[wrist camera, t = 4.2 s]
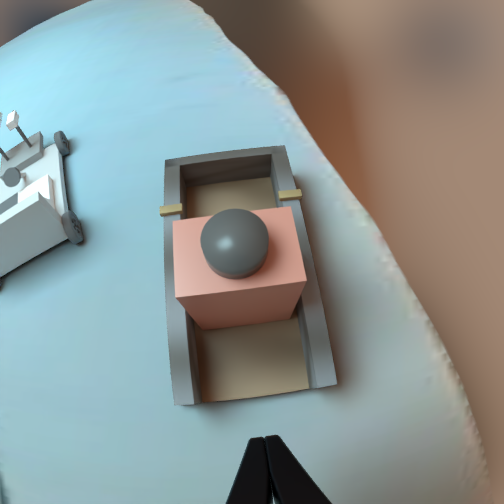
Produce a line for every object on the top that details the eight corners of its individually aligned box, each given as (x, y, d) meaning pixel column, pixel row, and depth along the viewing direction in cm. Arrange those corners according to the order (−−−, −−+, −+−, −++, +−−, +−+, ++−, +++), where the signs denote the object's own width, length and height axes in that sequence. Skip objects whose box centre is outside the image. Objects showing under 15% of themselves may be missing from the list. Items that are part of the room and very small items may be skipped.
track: (332, 383, 21) (350, 381, 17) (178, 403, 20) (161, 406, 16) (289, 174, 28) (293, 141, 24) (167, 189, 28) (155, 158, 24)
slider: (289, 319, 22) (310, 271, 13) (202, 330, 21) (168, 289, 13) (280, 265, 23) (292, 192, 15) (198, 276, 23) (166, 208, 15)
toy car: (-40, 125, 22) (36, 72, 24) (-2, 172, 31) (68, 130, 33) (-68, 253, 15) (28, 183, 17) (-1, 294, 24) (86, 245, 26)
